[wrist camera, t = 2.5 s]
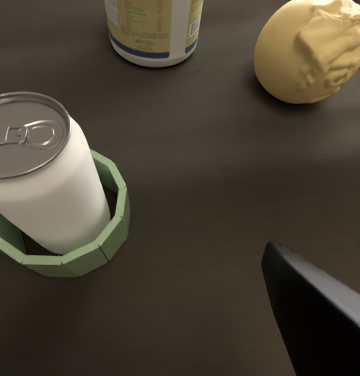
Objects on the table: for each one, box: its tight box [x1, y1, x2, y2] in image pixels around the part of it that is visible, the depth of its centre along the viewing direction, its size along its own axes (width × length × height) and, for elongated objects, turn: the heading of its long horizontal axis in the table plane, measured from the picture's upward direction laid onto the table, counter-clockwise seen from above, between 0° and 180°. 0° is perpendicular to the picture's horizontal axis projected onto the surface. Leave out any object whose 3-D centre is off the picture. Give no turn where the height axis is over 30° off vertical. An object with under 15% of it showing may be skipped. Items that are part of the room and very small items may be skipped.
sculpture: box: [254, 0, 360, 104], centre depth 31 cm, size 12×12×11 cm
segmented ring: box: [0, 148, 131, 277], centre depth 21 cm, size 10×10×4 cm
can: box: [0, 92, 110, 255], centre depth 18 cm, size 6×6×12 cm
